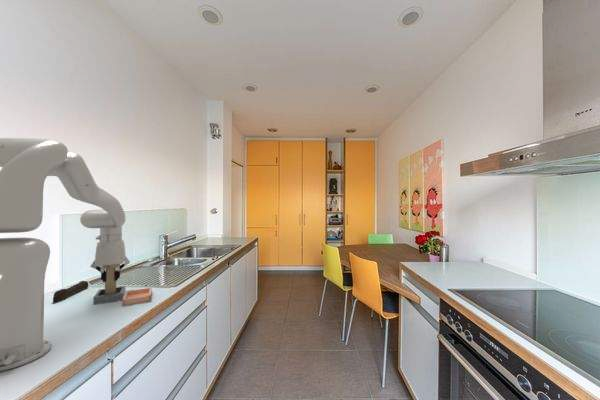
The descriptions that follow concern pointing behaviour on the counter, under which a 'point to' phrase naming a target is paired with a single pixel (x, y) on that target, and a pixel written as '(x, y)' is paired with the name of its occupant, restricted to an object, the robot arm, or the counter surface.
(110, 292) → the handle
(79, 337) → the counter surface
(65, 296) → the hand tool
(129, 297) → the tray
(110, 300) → the collar
